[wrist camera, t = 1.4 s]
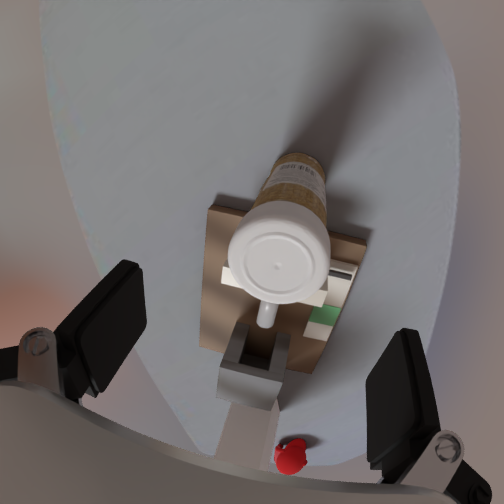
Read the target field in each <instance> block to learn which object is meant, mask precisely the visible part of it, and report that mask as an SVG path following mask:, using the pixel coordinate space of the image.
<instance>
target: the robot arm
mask: <svg viewBox="0 0 504 504" xmlns="http://www.w3.org/2000/svg"><path fill="white" fill-rule="evenodd" d="M146 324H147V318H146V308H145V297H144V284H143V271H142V269H141V268H139V265H138V263H135V262H132V261H128V260H125V259H124V260H122V261H121V262H119V263H118V264H117V265H116V266H115V267H114V268H113V269H112V270H111V271H110V272H109V273H108V274H107V275H106V276H105V277H104V278H103V279H102V280H101V281H100V282H99V283H98V285H96V287H95V288H93V289H92V290H91V292H90V293H89V294H88V295H87V296H86V297H85V298H84V299H83V300H82V301H81V302H80V303H79V304H78V305H77V306H76V307H75V308H74V309H73V310H72V312H71V313H70V314H69V315H68V316H67V317H66V318H65V319H64V320H63V321H62V322H61V324H60V325H59V326H58V327H57V328H56V330H55V331H54V332H52V331H51V330H49V329H47V328H43V327H37V328H34V329H31V330H29V331H27V332H26V333H25V334H24V335H23V336H22V338H21V340H20V343H19V345H18V346H13V347H8V348H3V349H0V504H490V502H491V499H492V491H491V488H490V485H489V484H488V483H487V481H485V480H484V479H483V478H482V477H481V476H480V475H479V474H478V473H477V472H476V471H474V469H472V468H471V467H470V466H469V465H468V464H467V463H466V462H465V461H464V460H463V456H464V445H463V442H462V440H461V438H460V437H459V436H458V435H457V434H456V433H454V432H452V431H449V430H443V431H441V428H440V422H439V417H438V411H437V405H436V401H435V396H434V391H433V387H432V382H431V377H430V373H429V370H428V366H427V362H426V358H425V354H424V350H423V346H422V343H421V339H420V336H419V333H418V331H417V330H413V329H407V328H402V329H401V330H400V331H397V332H396V333H395V334H394V336H393V337H392V339H391V341H390V342H389V344H388V346H387V347H386V349H385V351H384V352H383V354H382V355H381V357H380V358H379V360H378V362H377V363H376V365H375V366H374V368H373V369H372V371H371V372H370V374H369V375H368V377H367V379H366V409H367V461H368V462H370V469H371V470H382V477H381V479H380V480H379V481H378V482H377V483H376V484H375V483H374V484H373V483H353V482H341V481H328V480H319V479H311V478H302V477H296V476H289V475H283V474H278V473H272V472H267V471H262V470H257V469H252V468H248V467H244V466H239V465H235V464H231V463H227V462H224V461H220V460H216V459H212V458H209V457H206V456H202V455H199V454H196V453H193V452H190V451H186V450H184V449H181V448H178V447H175V446H172V445H169V444H166V443H164V442H161V441H158V440H156V439H153V438H151V437H148V436H146V435H143V434H141V433H138V432H136V431H133V430H131V429H129V428H127V427H124V426H122V425H120V424H117V423H116V422H113V421H111V420H109V419H107V418H105V417H103V416H101V415H98V414H97V413H95V412H92V411H90V410H88V409H86V408H85V407H83V405H82V399H81V398H82V396H83V395H84V393H87V394H89V395H91V396H92V397H94V398H96V397H97V395H98V393H99V392H100V393H102V392H104V391H105V389H106V388H107V386H108V385H109V383H110V382H111V380H112V378H113V377H114V375H115V374H116V372H117V371H118V369H119V367H120V366H121V365H122V363H123V361H124V360H125V358H126V357H127V355H128V354H129V352H130V351H131V349H132V348H133V346H134V345H135V343H136V342H137V340H138V339H139V337H140V336H141V334H142V333H143V331H144V330H145V328H146Z"/></svg>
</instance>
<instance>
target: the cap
mask: <svg viewBox="0 0 504 504" xmlns="http://www.w3.org/2000/svg"><path fill="white" fill-rule="evenodd" d="M282 448H283V445H281V444H278V446H276V448H275V455H274V460H275V463H276V466H277V468H278V470H279V471H280V472H281V473H283V474H286V475H292V474H295V473H297V472H299V471H300V470H301V469H302V468H303V466H305V465H306V464H307V460H306V453H305V450H306V443H305V441H304V440H303V439H301V438H297V439H294V440H292V441H291V442H290V443H289V444H288V445H287V446H286V447H285V449H282Z"/></svg>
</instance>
